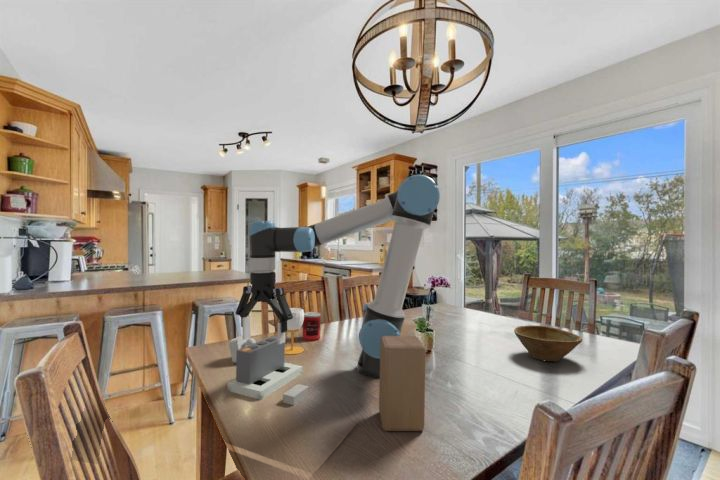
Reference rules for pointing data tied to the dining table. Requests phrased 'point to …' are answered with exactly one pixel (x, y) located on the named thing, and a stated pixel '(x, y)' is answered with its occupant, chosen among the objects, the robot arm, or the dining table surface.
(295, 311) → the cup
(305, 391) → the foam block
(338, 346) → the dining table surface
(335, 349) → the dining table surface
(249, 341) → the wall hook
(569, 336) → the bowl
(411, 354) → the wooden block
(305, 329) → the canned food
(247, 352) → the grey slotted block
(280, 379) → the keyhole board
